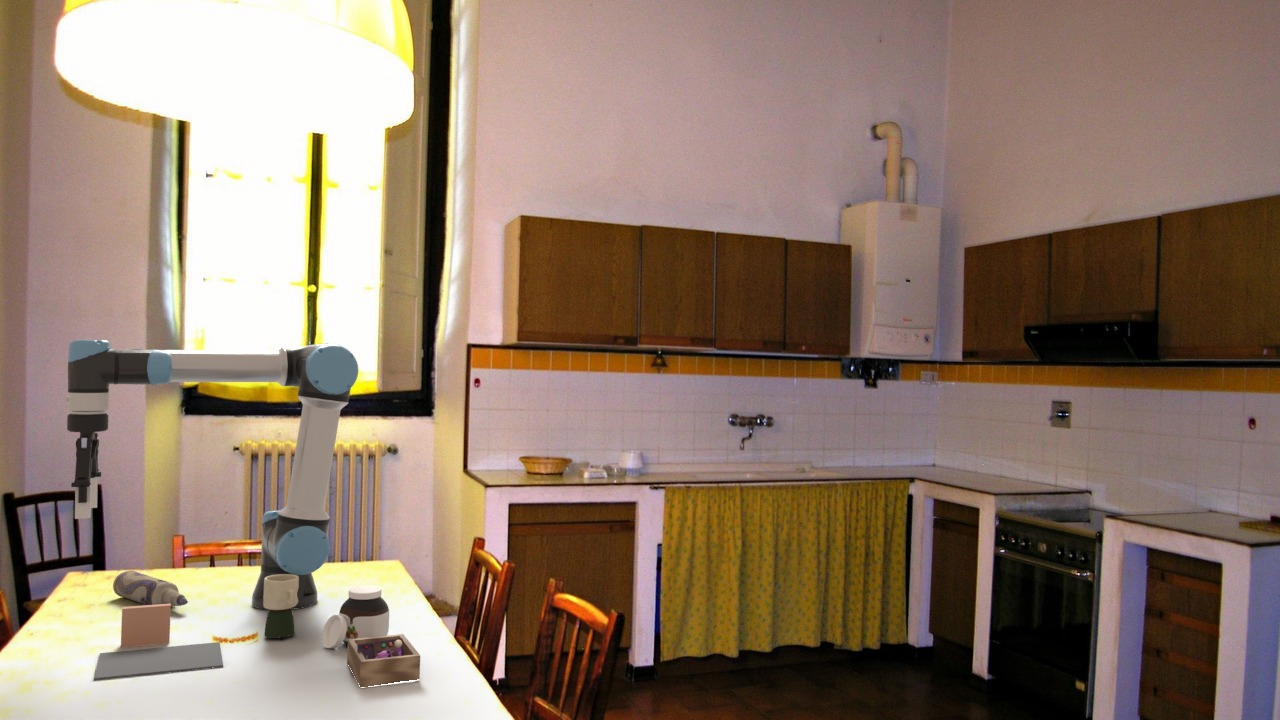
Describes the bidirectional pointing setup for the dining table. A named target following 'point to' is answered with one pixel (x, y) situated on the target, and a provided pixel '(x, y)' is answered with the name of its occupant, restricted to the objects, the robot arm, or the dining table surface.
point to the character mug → (280, 604)
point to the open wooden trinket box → (383, 662)
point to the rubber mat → (158, 660)
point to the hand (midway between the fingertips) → (86, 513)
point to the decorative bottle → (147, 589)
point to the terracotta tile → (145, 625)
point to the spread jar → (358, 617)
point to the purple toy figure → (369, 649)
